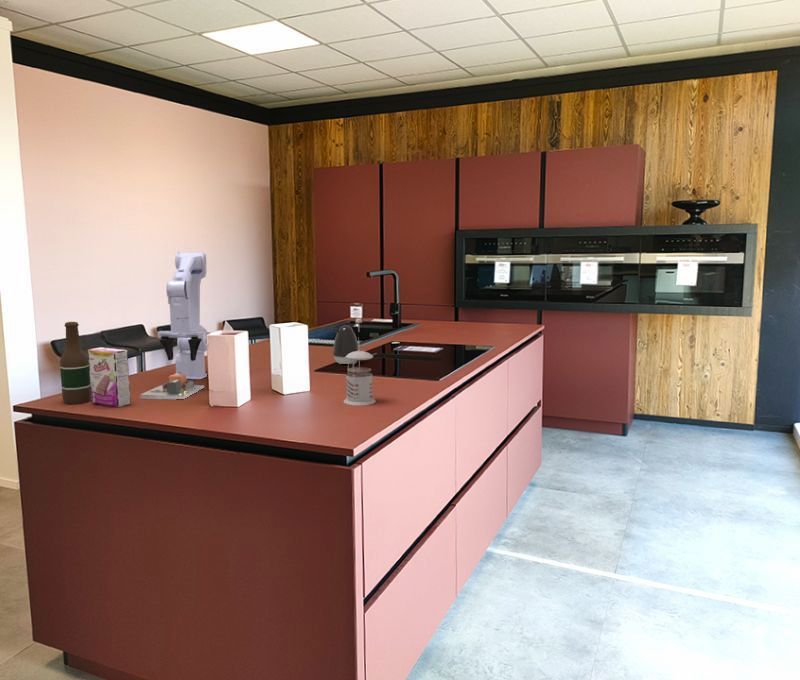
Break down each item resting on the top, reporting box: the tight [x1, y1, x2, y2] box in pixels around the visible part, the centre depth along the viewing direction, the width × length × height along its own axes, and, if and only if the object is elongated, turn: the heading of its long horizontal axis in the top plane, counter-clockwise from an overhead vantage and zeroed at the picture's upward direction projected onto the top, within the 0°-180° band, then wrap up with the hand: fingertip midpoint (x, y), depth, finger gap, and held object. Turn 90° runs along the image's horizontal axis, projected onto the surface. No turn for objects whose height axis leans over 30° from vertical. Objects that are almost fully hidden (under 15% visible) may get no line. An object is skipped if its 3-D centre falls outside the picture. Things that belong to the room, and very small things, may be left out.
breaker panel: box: [139, 380, 205, 400], centre depth 206 cm, size 14×15×3 cm
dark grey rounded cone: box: [331, 325, 359, 365], centre depth 256 cm, size 10×10×15 cm
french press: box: [343, 318, 377, 406], centre depth 194 cm, size 10×12×25 cm
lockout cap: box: [168, 372, 188, 389], centre depth 209 cm, size 4×4×4 cm
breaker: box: [165, 380, 181, 393], centre depth 202 cm, size 3×4×3 cm
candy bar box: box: [87, 346, 132, 408], centre depth 192 cm, size 11×5×16 cm, turn 65°
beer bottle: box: [59, 321, 92, 405], centre depth 194 cm, size 8×8×24 cm
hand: (182, 360), depth 210 cm, fingers open, 7 cm apart
